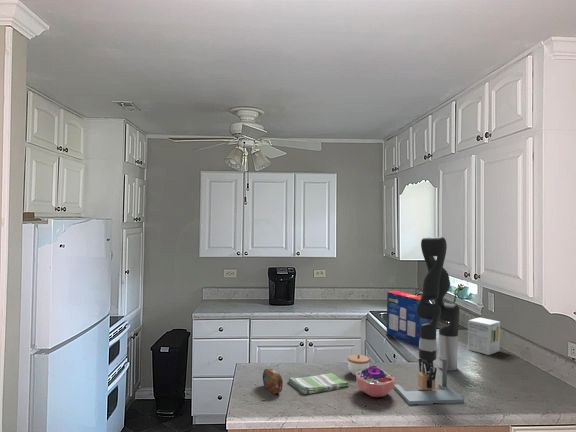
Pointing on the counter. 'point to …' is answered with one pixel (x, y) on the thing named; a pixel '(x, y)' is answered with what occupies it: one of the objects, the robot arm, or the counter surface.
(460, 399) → the screw clamp
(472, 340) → the supplement box
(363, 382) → the cell model
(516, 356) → the counter surface
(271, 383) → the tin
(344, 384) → the dish towel
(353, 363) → the lidded jar
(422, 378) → the tan wooden brick
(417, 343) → the blue cardboard box
